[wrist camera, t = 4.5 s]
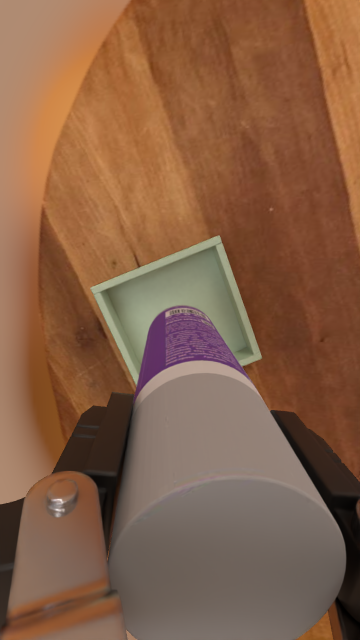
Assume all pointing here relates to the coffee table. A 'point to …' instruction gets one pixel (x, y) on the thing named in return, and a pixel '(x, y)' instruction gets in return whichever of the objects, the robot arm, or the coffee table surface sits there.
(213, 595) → the container
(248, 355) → the tray
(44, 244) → the coffee table surface
